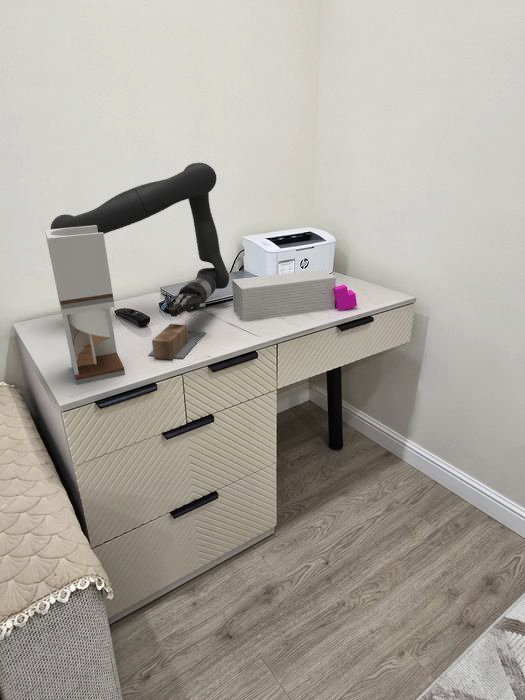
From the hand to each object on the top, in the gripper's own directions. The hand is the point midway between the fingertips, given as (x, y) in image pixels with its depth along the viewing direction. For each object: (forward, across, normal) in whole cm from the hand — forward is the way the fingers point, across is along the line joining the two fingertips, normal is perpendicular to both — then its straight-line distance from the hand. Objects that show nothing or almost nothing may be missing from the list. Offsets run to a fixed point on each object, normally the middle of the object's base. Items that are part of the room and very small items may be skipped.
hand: (172, 313), depth 132 cm
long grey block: (-35, +24, +10) cm, 44 cm away
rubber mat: (-2, 0, +10) cm, 10 cm away
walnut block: (-3, 0, +7) cm, 8 cm away
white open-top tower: (+18, -14, +10) cm, 25 cm away
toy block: (-45, +41, +10) cm, 62 cm away
